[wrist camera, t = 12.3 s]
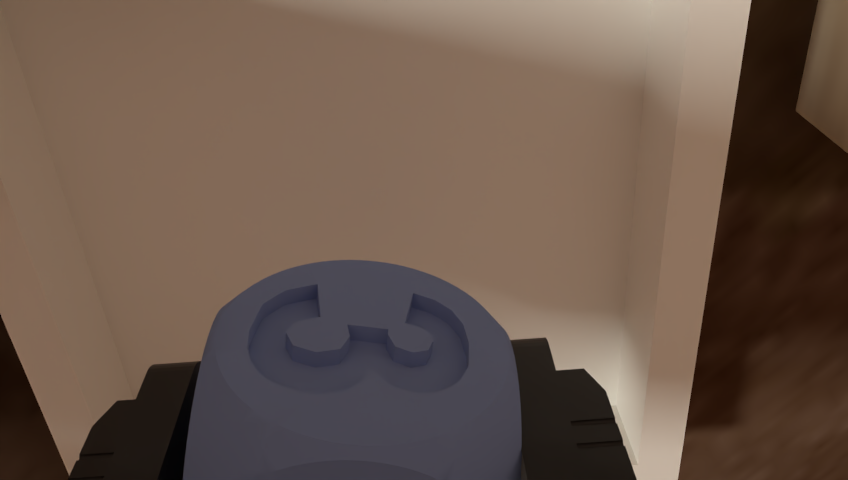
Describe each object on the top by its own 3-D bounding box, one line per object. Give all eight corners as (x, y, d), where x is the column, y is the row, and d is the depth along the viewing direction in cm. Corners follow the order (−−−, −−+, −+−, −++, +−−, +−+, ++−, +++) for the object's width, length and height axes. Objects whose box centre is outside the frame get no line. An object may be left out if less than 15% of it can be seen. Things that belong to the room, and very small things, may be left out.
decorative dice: (461, 452, 14) (484, 671, 11) (235, 439, 14) (184, 662, 10) (497, 267, 12) (540, 463, 9) (235, 245, 12) (169, 441, 8)
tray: (125, 457, 21) (94, 536, 19) (-86, -113, 13) (-174, -92, 11) (646, 417, 21) (675, 490, 19) (713, -171, 14) (776, -162, 11)
